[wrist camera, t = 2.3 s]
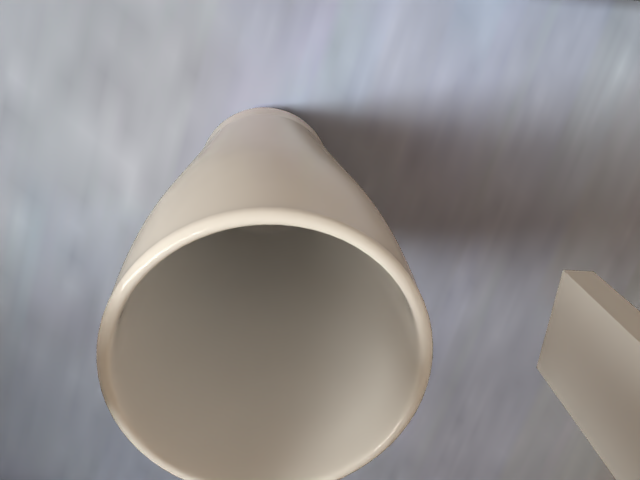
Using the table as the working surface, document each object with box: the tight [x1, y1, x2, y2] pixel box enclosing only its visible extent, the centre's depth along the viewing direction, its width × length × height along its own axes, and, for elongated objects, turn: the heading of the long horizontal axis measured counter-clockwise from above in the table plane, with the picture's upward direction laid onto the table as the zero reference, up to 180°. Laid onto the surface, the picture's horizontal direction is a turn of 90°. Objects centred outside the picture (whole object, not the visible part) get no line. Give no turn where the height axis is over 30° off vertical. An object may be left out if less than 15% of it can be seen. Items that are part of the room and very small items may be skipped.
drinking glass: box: [96, 107, 433, 480], centre depth 19 cm, size 7×7×15 cm
